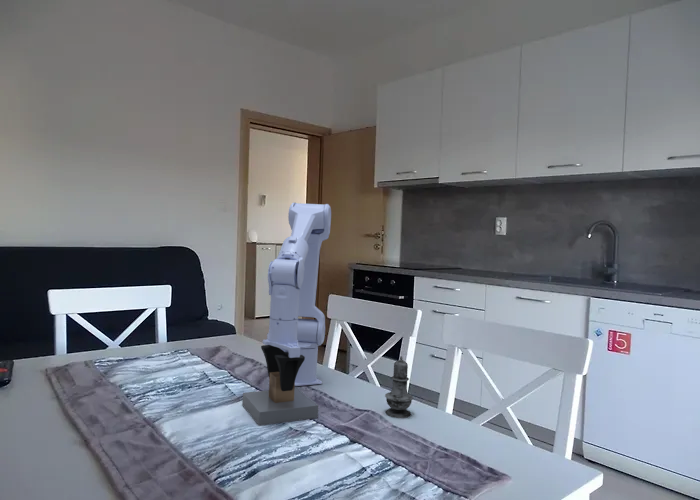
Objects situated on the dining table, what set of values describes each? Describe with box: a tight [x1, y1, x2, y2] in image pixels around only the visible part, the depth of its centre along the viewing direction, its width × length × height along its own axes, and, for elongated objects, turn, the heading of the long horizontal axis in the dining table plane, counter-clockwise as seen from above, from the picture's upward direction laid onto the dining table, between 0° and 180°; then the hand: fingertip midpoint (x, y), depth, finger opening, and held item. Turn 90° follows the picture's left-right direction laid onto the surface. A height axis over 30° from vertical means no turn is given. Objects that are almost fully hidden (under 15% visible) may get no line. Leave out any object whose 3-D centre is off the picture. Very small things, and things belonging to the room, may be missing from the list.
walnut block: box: [268, 372, 296, 403], centre depth 99 cm, size 4×4×5 cm
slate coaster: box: [241, 387, 319, 426], centre depth 99 cm, size 12×12×2 cm
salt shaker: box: [384, 356, 414, 419], centre depth 101 cm, size 6×6×12 cm
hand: (280, 384), depth 99 cm, fingers open, 7 cm apart
